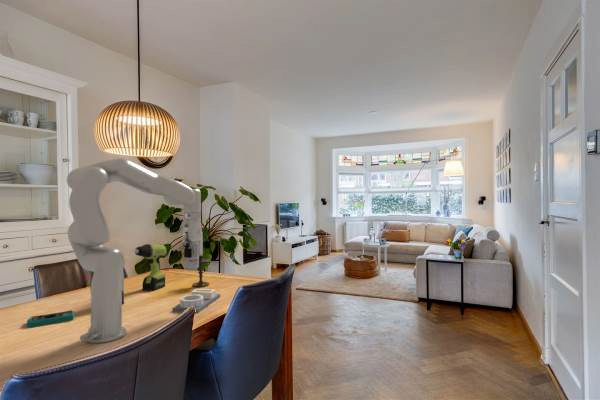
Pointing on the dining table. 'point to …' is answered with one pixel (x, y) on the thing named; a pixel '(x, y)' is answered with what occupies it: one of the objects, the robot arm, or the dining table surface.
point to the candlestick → (201, 262)
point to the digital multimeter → (50, 318)
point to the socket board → (206, 302)
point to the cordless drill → (152, 265)
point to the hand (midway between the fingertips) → (191, 255)
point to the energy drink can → (193, 257)
